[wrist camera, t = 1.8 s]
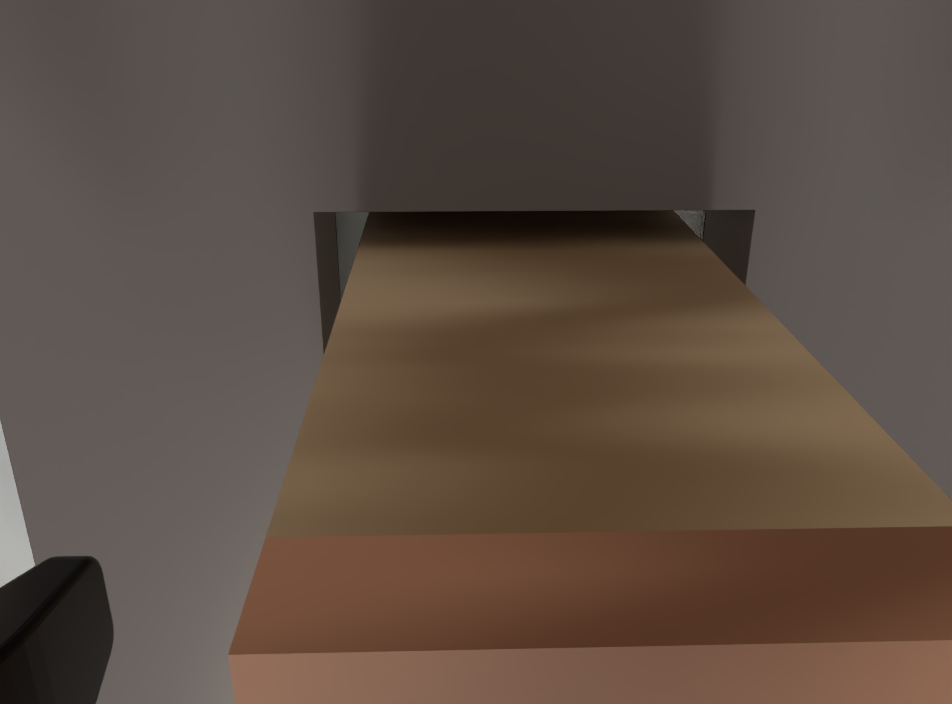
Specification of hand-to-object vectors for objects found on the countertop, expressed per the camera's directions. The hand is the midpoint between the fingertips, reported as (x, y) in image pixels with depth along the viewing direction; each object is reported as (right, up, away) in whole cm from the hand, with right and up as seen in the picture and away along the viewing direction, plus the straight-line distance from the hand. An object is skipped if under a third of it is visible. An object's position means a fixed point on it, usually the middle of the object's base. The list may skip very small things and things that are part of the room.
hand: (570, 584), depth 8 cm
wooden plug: (0, +2, +5) cm, 6 cm away
